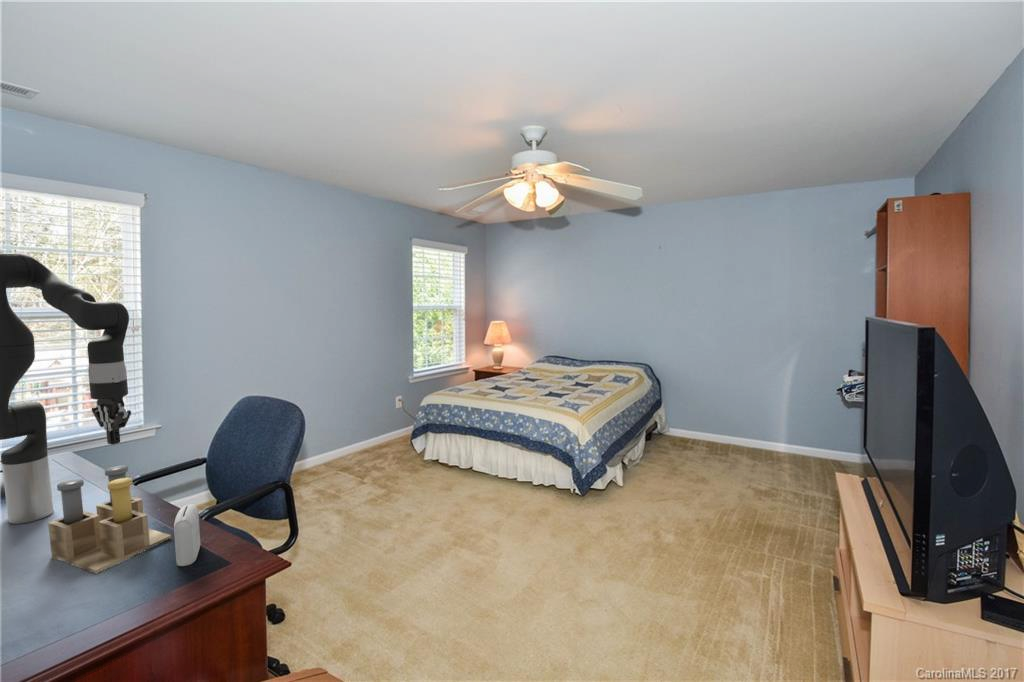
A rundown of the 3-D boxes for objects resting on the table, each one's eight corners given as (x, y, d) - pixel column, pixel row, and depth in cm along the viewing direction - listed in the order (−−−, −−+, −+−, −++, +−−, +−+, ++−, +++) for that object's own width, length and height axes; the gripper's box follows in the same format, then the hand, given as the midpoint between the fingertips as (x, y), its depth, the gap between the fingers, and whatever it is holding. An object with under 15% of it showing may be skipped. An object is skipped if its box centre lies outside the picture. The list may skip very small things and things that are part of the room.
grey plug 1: (56, 524, 117) (52, 485, 116) (80, 515, 122) (76, 477, 121) (68, 527, 116) (64, 488, 114) (91, 519, 120) (87, 480, 119)
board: (51, 557, 118) (48, 522, 117) (128, 525, 133) (125, 494, 132) (96, 574, 111) (92, 537, 110) (171, 538, 127) (168, 506, 126)
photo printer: (182, 547, 123) (179, 501, 121) (202, 543, 125) (199, 498, 123) (174, 568, 114) (170, 519, 112) (195, 564, 115) (192, 516, 114)
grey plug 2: (103, 506, 126) (100, 470, 125) (124, 499, 131) (121, 464, 130) (115, 510, 125) (111, 473, 124) (135, 502, 129) (132, 466, 128)
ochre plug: (106, 522, 118) (102, 483, 117) (127, 513, 122) (124, 476, 121) (118, 526, 116) (115, 487, 115) (139, 517, 121) (136, 479, 120)
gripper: (75, 379, 123) (82, 444, 125) (107, 383, 118) (113, 451, 120) (109, 374, 130) (114, 436, 132) (140, 378, 125) (145, 442, 127)
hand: (114, 443), depth 126 cm, fingers closed
